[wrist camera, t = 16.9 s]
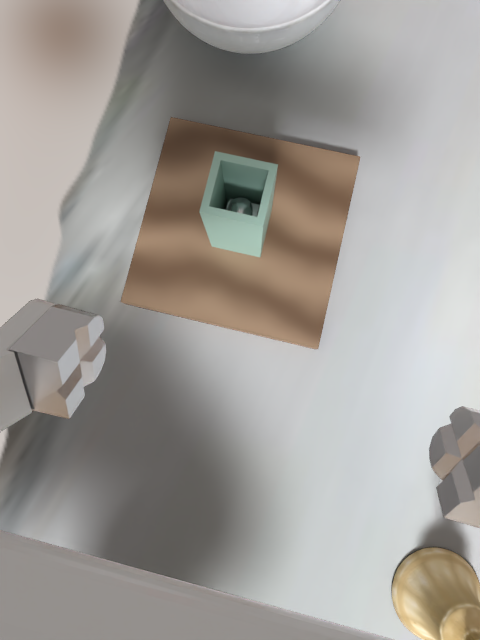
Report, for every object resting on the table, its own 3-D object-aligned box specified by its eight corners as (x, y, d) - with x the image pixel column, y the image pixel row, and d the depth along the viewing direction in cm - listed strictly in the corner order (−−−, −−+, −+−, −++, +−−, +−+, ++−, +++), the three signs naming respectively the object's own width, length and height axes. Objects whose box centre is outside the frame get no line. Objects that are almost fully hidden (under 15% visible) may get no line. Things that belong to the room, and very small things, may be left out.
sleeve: (260, 257, 37) (263, 226, 28) (211, 246, 38) (199, 211, 29) (271, 210, 38) (277, 164, 29) (223, 199, 38) (215, 151, 29)
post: (252, 245, 37) (252, 228, 33) (224, 239, 38) (220, 221, 33) (258, 218, 38) (260, 197, 33) (230, 211, 38) (228, 190, 33)
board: (315, 349, 38) (317, 348, 36) (125, 303, 39) (120, 301, 37) (356, 164, 40) (360, 156, 38) (173, 125, 41) (170, 116, 39)
